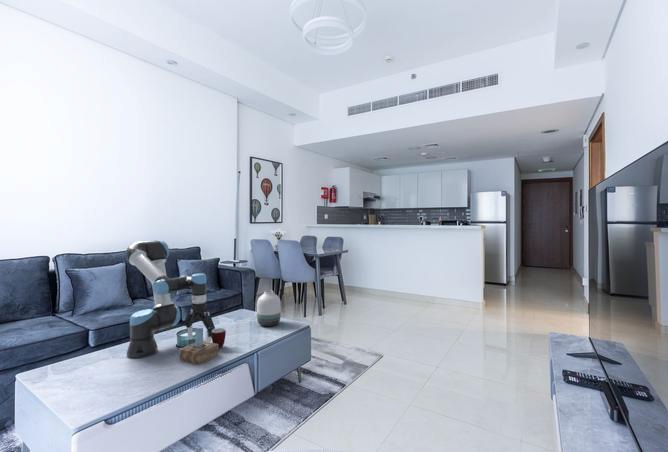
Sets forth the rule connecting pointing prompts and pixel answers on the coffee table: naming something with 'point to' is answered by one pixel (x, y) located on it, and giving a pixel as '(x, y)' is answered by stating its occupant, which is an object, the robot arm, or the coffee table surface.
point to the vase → (268, 309)
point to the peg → (199, 337)
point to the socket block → (199, 353)
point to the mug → (218, 336)
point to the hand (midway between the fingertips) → (199, 340)
